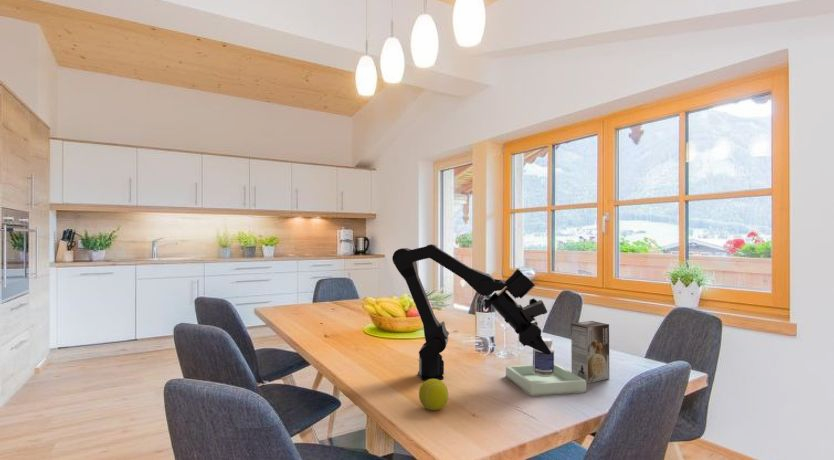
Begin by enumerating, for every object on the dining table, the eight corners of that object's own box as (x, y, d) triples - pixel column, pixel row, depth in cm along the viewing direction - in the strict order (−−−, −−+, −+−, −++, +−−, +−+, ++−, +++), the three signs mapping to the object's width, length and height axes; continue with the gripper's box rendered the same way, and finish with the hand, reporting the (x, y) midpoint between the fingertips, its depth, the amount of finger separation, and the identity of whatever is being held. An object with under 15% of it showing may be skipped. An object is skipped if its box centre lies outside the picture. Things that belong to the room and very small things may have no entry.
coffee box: (592, 372, 132) (592, 320, 132) (610, 379, 126) (610, 324, 126) (570, 377, 127) (570, 322, 128) (588, 383, 122) (588, 327, 122)
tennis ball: (452, 413, 101) (452, 383, 101) (423, 416, 99) (424, 385, 99) (442, 402, 108) (442, 373, 108) (415, 404, 106) (415, 376, 106)
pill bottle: (557, 376, 120) (558, 340, 120) (540, 378, 118) (540, 342, 118) (545, 370, 125) (546, 336, 125) (528, 371, 123) (529, 337, 123)
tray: (531, 396, 112) (531, 384, 112) (505, 376, 128) (505, 366, 128) (586, 392, 115) (586, 380, 115) (554, 373, 131) (554, 363, 131)
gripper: (533, 295, 113) (576, 339, 111) (527, 286, 132) (564, 324, 130) (502, 323, 114) (544, 368, 112) (500, 311, 133) (536, 349, 131)
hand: (548, 350), depth 121 cm, fingers closed on pill bottle, 6 cm apart
